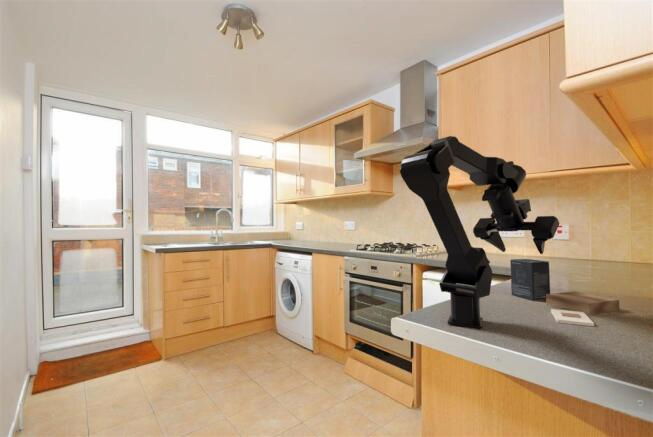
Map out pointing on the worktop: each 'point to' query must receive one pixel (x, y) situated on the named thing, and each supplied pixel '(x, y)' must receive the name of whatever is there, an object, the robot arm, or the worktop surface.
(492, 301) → the worktop surface
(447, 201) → the robot arm
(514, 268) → the box
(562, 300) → the walnut slab
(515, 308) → the worktop surface
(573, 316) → the card
